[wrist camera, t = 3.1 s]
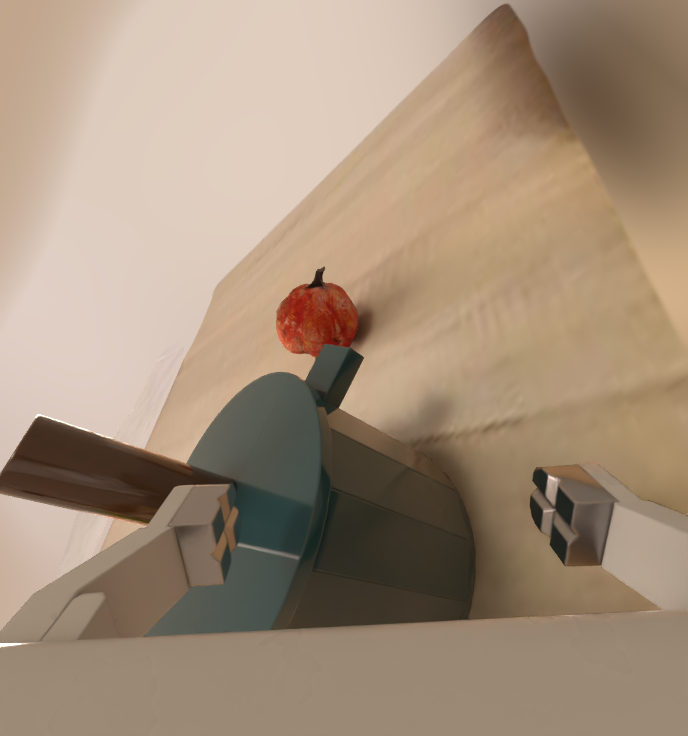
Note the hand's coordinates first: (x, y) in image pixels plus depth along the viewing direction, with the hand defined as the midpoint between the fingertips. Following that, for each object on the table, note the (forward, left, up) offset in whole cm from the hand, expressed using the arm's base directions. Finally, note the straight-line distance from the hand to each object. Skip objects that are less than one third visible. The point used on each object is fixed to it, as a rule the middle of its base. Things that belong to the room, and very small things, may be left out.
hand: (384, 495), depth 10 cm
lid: (+6, -7, 0) cm, 9 cm away
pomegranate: (-3, -24, -10) cm, 26 cm away
